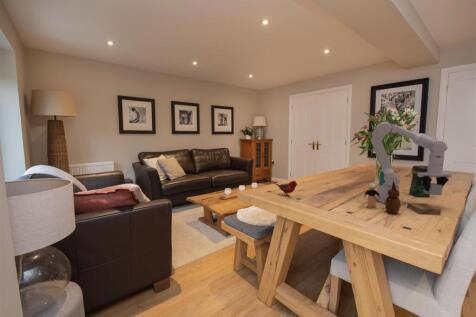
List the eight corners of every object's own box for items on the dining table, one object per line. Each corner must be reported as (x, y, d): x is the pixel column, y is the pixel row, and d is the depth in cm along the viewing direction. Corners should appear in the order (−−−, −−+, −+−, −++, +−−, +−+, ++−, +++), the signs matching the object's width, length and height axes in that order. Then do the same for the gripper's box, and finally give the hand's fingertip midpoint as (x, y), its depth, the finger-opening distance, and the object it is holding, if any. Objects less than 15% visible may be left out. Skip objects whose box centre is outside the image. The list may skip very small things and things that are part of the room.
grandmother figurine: (375, 206, 114) (377, 182, 112) (380, 208, 110) (382, 183, 108) (360, 206, 113) (362, 182, 112) (365, 208, 110) (367, 183, 108)
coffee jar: (415, 197, 130) (418, 166, 128) (406, 193, 138) (409, 164, 136) (433, 197, 129) (436, 166, 127) (422, 193, 137) (426, 164, 135)
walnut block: (418, 214, 103) (419, 208, 102) (407, 208, 112) (407, 202, 111) (440, 215, 101) (440, 209, 101) (426, 209, 110) (427, 203, 110)
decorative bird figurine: (295, 198, 125) (296, 181, 124) (271, 192, 139) (272, 177, 137) (298, 197, 127) (299, 181, 126) (274, 191, 140) (275, 176, 139)
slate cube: (430, 194, 110) (431, 185, 109) (423, 192, 115) (424, 182, 114) (441, 195, 109) (442, 185, 109) (434, 192, 114) (435, 183, 114)
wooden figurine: (385, 209, 109) (388, 179, 107) (399, 211, 105) (402, 181, 104) (383, 212, 104) (386, 181, 102) (398, 215, 100) (401, 183, 99)
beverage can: (391, 195, 133) (393, 171, 131) (381, 195, 134) (383, 170, 132) (387, 193, 139) (389, 169, 137) (377, 192, 140) (378, 169, 138)
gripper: (425, 165, 107) (422, 192, 109) (458, 166, 105) (455, 193, 107) (415, 163, 114) (413, 188, 116) (446, 164, 112) (443, 189, 114)
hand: (432, 190), depth 112 cm, fingers closed on slate cube, 5 cm apart
